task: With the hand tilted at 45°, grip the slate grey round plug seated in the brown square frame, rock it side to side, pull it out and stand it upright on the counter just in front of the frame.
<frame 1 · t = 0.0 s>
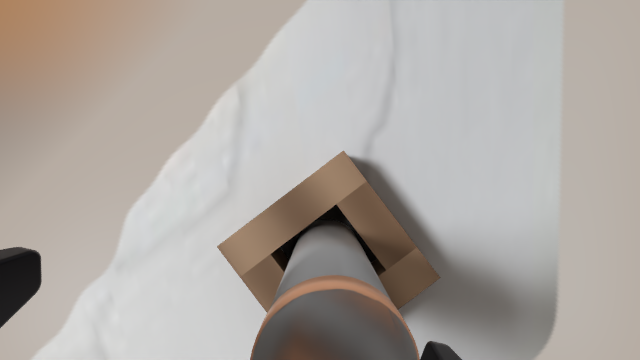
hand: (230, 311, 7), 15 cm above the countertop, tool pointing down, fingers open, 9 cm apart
brown square frame: (327, 250, 23), on the countertop
plug: (329, 284, 16), in the brown square frame
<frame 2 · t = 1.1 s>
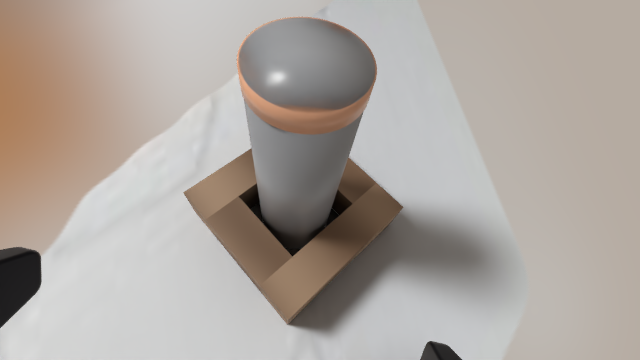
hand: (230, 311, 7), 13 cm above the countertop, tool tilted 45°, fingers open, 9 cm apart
brown square frame: (294, 217, 23), on the countertop
plug: (299, 168, 17), in the brown square frame
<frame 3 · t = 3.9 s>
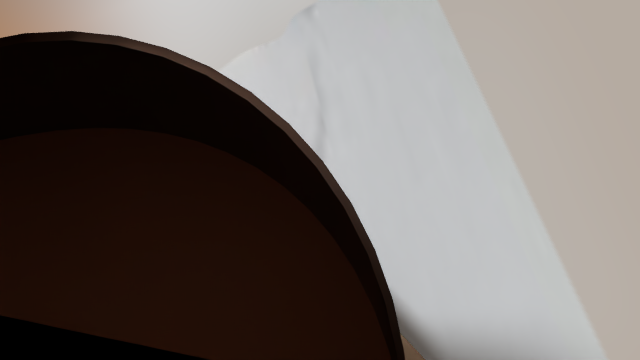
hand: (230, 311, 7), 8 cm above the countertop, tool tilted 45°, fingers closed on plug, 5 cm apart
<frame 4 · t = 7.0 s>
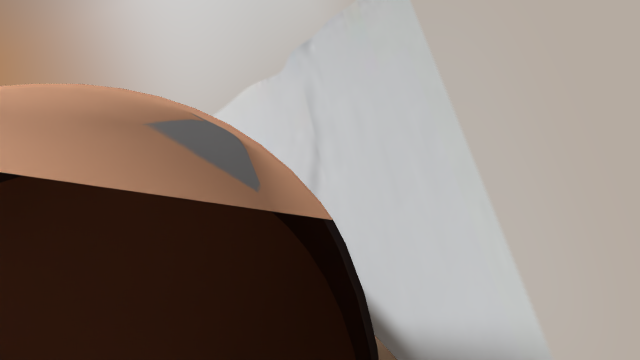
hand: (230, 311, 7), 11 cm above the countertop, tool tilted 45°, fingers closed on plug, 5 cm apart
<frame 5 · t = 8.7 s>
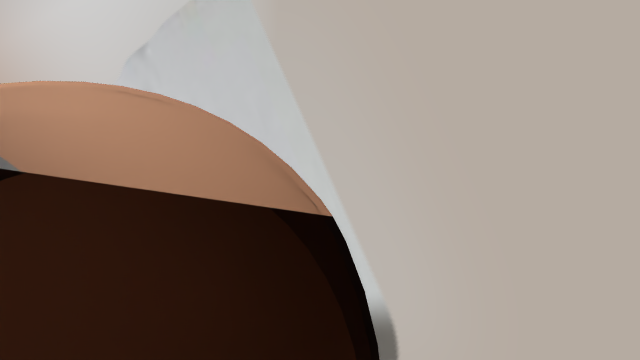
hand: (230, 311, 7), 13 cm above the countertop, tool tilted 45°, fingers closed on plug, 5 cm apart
when the fingers open (9 cm above the countertop, at t = 10.1 s): plug stays where it is, on the countertop.
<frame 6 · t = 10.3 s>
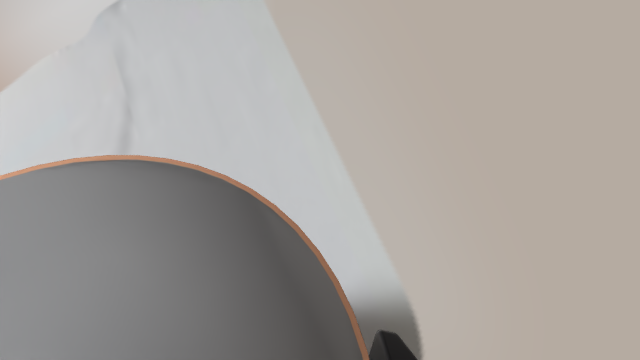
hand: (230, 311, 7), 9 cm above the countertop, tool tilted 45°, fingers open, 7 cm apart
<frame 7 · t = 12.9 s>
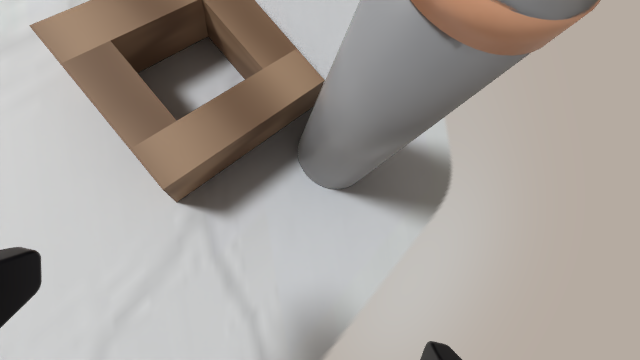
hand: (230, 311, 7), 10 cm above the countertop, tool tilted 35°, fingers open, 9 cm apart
brown square frame: (198, 87, 19), on the countertop
plug: (378, 97, 13), on the countertop
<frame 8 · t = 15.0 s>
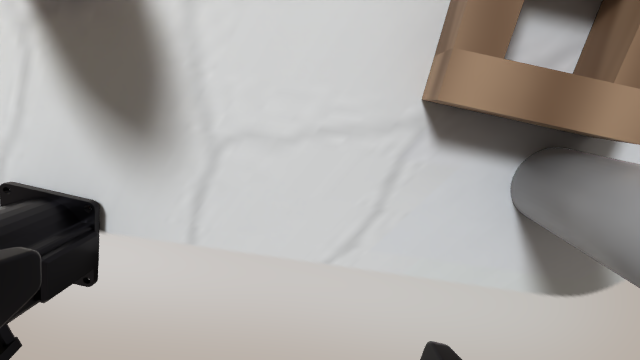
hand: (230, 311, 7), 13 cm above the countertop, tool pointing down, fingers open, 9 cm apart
brown square frame: (540, 25, 17), on the countertop
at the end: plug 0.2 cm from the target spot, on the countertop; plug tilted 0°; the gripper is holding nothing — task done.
